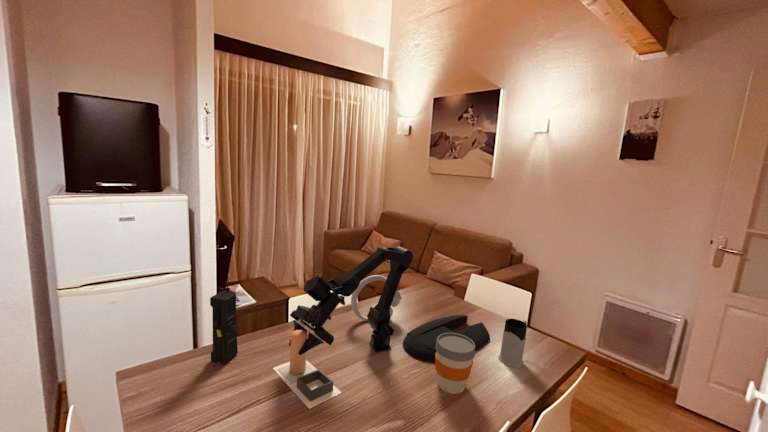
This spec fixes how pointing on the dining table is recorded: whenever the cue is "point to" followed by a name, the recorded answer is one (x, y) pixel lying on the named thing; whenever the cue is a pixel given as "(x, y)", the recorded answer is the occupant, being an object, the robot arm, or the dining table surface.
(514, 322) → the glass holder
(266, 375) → the dining table surface
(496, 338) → the dining table surface
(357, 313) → the headphones
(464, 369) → the reusable coffee cup
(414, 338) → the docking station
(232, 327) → the portable radio
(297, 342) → the tall peach cylinder
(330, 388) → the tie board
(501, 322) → the dining table surface
